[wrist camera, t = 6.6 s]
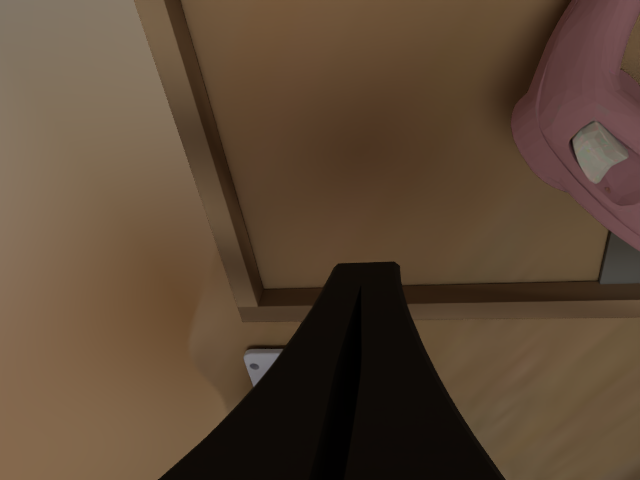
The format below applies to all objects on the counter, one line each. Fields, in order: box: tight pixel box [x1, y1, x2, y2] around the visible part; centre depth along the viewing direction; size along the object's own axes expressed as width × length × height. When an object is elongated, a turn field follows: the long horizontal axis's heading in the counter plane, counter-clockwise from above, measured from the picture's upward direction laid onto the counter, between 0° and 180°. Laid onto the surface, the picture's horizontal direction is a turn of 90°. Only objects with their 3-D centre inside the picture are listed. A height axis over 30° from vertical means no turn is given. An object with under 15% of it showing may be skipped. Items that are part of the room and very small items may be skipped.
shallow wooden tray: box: [134, 0, 640, 322], centre depth 17 cm, size 18×24×1 cm
